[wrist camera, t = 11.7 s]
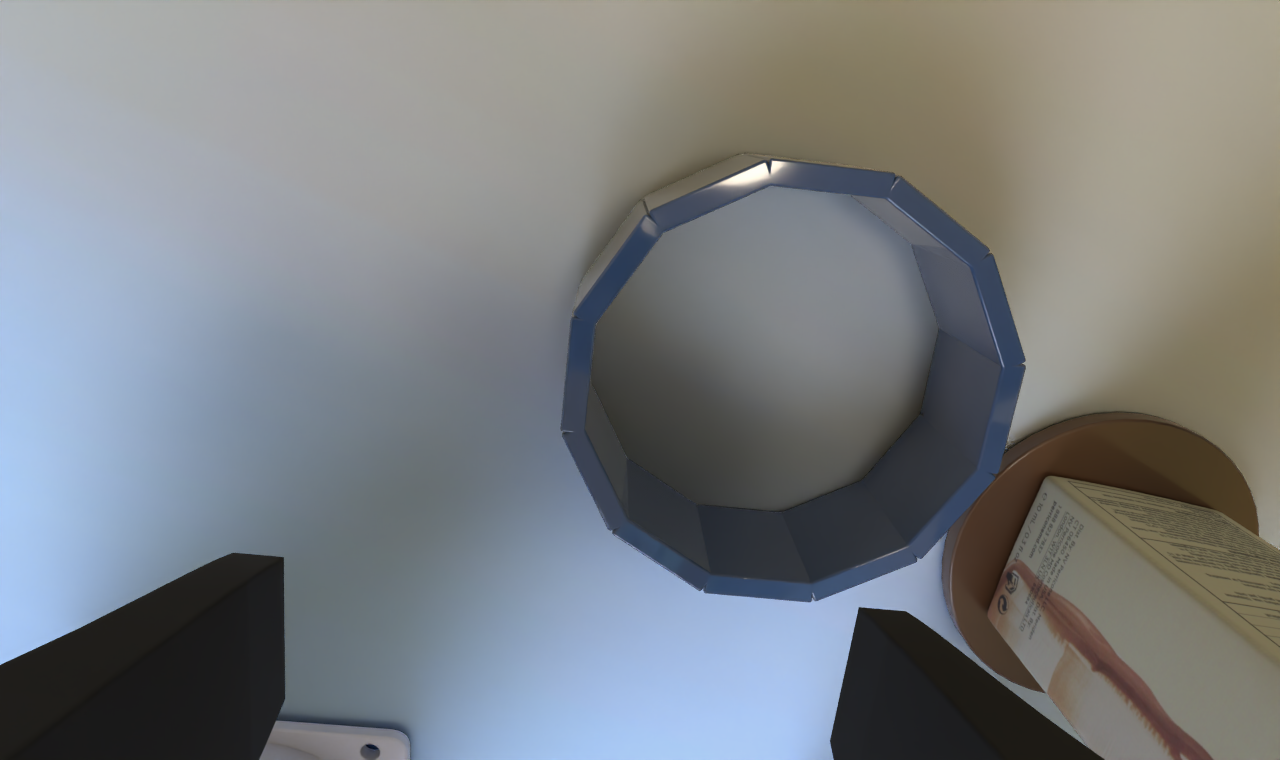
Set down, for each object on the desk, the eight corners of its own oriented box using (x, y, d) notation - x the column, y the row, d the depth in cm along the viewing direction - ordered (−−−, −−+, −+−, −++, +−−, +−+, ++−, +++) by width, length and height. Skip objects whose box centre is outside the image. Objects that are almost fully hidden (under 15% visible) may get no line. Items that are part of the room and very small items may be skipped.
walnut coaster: (912, 671, 23) (920, 685, 22) (979, 395, 21) (989, 404, 20) (1190, 694, 23) (1205, 709, 23) (1286, 427, 21) (1305, 436, 21)
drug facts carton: (978, 618, 22) (1264, 1007, 12) (1041, 466, 21) (1414, 765, 11) (1158, 657, 22) (1571, 1061, 13) (1231, 512, 21) (1750, 836, 11)
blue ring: (557, 508, 21) (546, 580, 18) (592, 134, 19) (586, 136, 15) (910, 541, 22) (962, 616, 18) (992, 181, 19) (1071, 193, 16)
